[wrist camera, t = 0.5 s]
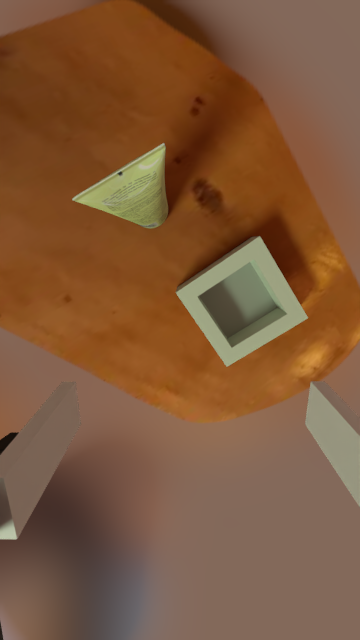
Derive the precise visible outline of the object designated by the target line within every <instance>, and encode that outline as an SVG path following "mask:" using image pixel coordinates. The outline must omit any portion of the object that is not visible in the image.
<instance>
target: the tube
mask: <svg viewBox="0 0 360 640" xmlns="http://www.w3.org/2000/svg"><path fill="white" fill-rule="evenodd" d="M165 151H166V147H165V144H164V143H163V144H161V145H159V146H158V147H156V148H155V149H153V150H151V151H149V152H147V153H145V154H143V155H142V156H140V157H138V158H136V159H135V160H133V161H131V162H130V163H128V164H126V165H125V166H123V167H121V168H120V169H118V170H116V171H115V172H113V173H112V174H110V175H108V176H107V177H105V178H104V179H102V180H100V181H99V182H97V183H95V184H94V185H92V186H91V187H89V188H88V189H86V190H85V191H83V192H81V193H80V194H78V195H77V196H75V197H74V198H73V199H72V200H74V201H76V202H79V203H82V204H85V205H88V206H91V207H94V208H97V209H100V210H103V211H105V212H108V213H111V214H114V215H116V216H119V217H122V218H124V219H127V220H129V221H132V222H134V223H136V224H138V225H141V226H143V227H146V228H155V227H158V226H160V225H161V224H162V223H163V222H164V221H165V220H166V218H167V215H168V203H167V198H166V191H165Z"/></svg>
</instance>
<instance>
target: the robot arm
mask: <svg viewBox="0 0 360 640" xmlns="http://www.w3.org/2000/svg"><path fill="white" fill-rule="evenodd" d="M80 424H81V422H80V414H79V405H78V397H77V389H76V382H62V383H61V384H60V385H59V386H58V387H57V389H56V390H55V391H54V392H53V393H52V394H51V396H50V397H49V398H48V399H47V400H46V402H45V403H44V404H43V405H42V406H41V407H40V409H39V410H38V411H37V412H36V414H35V415H34V416H33V417H32V418H31V419H30V420H29V422H28V423H27V424H26V425H25V426H24V428H23V429H22V430H21V431H20V432H19V433H10V434H8V435H7V436H5V437H4V438H2V439H1V440H0V539H18V537H19V535H20V533H21V531H22V529H23V528H24V526H25V524H26V522H27V520H28V519H29V517H30V515H31V513H32V511H33V509H34V508H35V506H36V504H37V502H38V501H39V499H40V497H41V495H42V493H43V492H44V490H45V488H46V486H47V484H48V482H49V481H50V479H51V477H52V475H53V473H54V472H55V470H56V468H57V466H58V464H59V463H60V461H61V459H62V457H63V455H64V454H65V452H66V450H67V448H68V446H69V445H70V443H71V441H72V439H73V437H74V435H75V434H76V432H77V430H78V428H79V426H80ZM305 425H306V426H307V428H308V429H309V431H310V432H311V434H312V435H313V437H314V438H315V440H316V441H317V443H318V444H319V446H320V447H321V449H322V450H323V452H324V453H325V455H326V457H327V458H328V460H329V461H330V463H331V464H332V466H333V467H334V469H335V470H336V472H337V473H338V475H339V476H340V478H341V479H342V481H343V483H344V484H345V486H346V487H347V489H348V490H349V492H350V493H351V495H352V496H353V498H354V499H355V501H356V502H357V504H358V505H359V506H360V417H359V416H358V415H357V414H356V413H355V412H354V411H353V410H352V409H351V408H350V407H349V406H348V405H347V404H346V403H345V402H344V401H343V399H341V397H339V396H338V394H337V393H336V392H334V390H333V389H332V388H331V387H330V386H329V385H328V384H327V383H325V382H311V384H310V392H309V399H308V407H307V414H306V422H305ZM0 640H3V635H2V629H1V623H0Z"/></svg>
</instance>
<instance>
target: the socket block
mask: <svg viewBox="0 0 360 640" xmlns="http://www.w3.org/2000/svg"><path fill="white" fill-rule="evenodd" d="M176 294H177V295H178V297H179V298H180V299H181V301H182V302H183V304H184V305H185V307H186V308H187V310H188V311H189V313H190V314H191V315H192V317H193V318H194V320H195V321H196V323H197V324H198V326H199V327H200V329H201V330H202V331H203V333H204V334H205V336H206V337H207V339H208V340H209V342H210V343H211V344H212V346H213V347H214V349H215V350H216V352H217V353H218V355H219V356H220V358H221V359H222V360H223V362H224V363H225V365H226V366H229V365H231V364H232V363H234V362H236V361H237V360H239V359H241V358H242V357H244V356H246V355H247V354H249V353H251V352H252V351H254V350H256V349H257V348H259V347H261V346H262V345H264V344H266V343H267V342H269V341H271V340H272V339H274V338H276V337H277V336H279V335H281V334H282V333H284V332H286V331H287V330H289V329H291V328H292V327H294V326H296V325H297V324H299V323H301V322H302V321H304V320H306V319H307V318H308V317H307V315H306V314H305V312H304V310H303V308H302V307H301V305H300V303H299V302H298V300H297V298H296V297H295V295H294V293H293V291H292V290H291V288H290V286H289V285H288V283H287V281H286V279H285V278H284V276H283V274H282V273H281V271H280V269H279V268H278V266H277V264H276V262H275V261H274V259H273V257H272V256H271V254H270V252H269V251H268V249H267V247H266V245H265V244H264V242H263V240H262V239H261V237H260V236H256V237H251V238H249V239H248V240H247V241H245V242H244V243H242V244H241V245H239V246H238V247H236V248H235V249H233V250H232V251H230V252H229V253H227V254H226V255H224V256H223V257H221V258H220V259H218V260H217V261H215V262H214V263H213V264H211V265H210V266H208V267H207V268H205V269H204V270H202V271H201V272H199V273H198V274H196V275H195V276H193V277H192V278H190V279H189V280H187V281H186V282H184V283H183V284H181V285H180V286H179V287H177V290H176Z"/></svg>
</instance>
